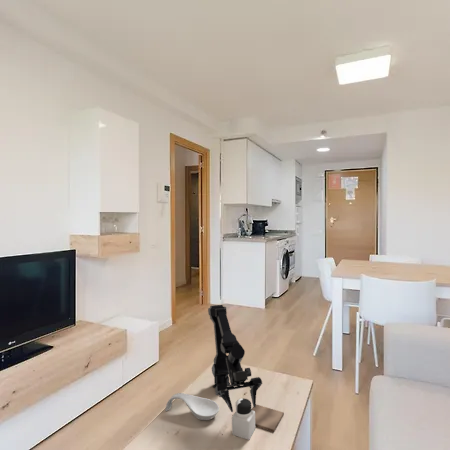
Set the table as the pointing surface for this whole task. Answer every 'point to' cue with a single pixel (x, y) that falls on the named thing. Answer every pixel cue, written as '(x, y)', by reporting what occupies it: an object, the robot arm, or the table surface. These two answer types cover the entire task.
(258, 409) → the walnut board
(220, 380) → the robot arm
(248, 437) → the medicine bottle
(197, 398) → the spoon rest
